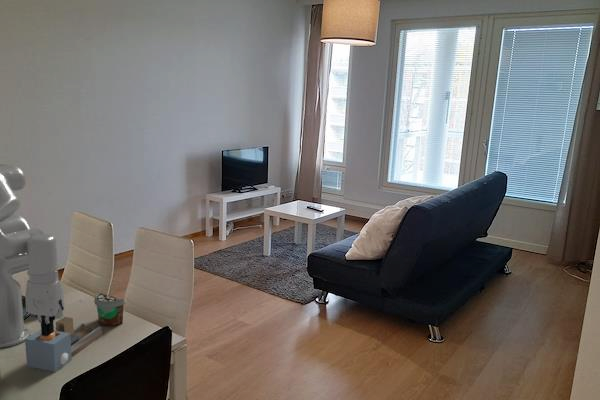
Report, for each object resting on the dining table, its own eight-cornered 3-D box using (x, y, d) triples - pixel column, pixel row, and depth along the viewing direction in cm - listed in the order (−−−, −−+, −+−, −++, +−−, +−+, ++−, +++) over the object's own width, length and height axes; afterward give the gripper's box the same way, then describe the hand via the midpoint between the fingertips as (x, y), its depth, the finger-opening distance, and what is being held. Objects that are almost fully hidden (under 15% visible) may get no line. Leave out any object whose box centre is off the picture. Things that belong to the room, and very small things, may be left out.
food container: (87, 322, 174) (86, 296, 171) (101, 316, 179) (100, 290, 177) (111, 331, 168) (110, 304, 166) (125, 324, 173) (124, 298, 171)
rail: (45, 355, 151) (45, 347, 150) (82, 331, 167) (81, 323, 167) (67, 360, 149) (67, 351, 149) (102, 334, 165) (102, 326, 165)
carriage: (52, 349, 152) (50, 323, 150) (65, 340, 157) (64, 314, 155) (66, 352, 150) (64, 325, 149) (79, 343, 156) (77, 317, 154)
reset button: (38, 349, 145) (37, 335, 144) (47, 343, 149) (47, 329, 148) (49, 351, 144) (48, 337, 143) (59, 345, 148) (58, 331, 147)
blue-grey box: (27, 366, 145) (24, 338, 143) (44, 354, 152) (42, 328, 150) (56, 372, 143) (54, 344, 141) (72, 360, 149) (71, 333, 148)
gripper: (12, 277, 139) (17, 335, 143) (56, 284, 136) (60, 343, 140) (32, 268, 147) (36, 324, 151) (74, 275, 143) (77, 332, 147)
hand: (47, 333), depth 145 cm, fingers closed
